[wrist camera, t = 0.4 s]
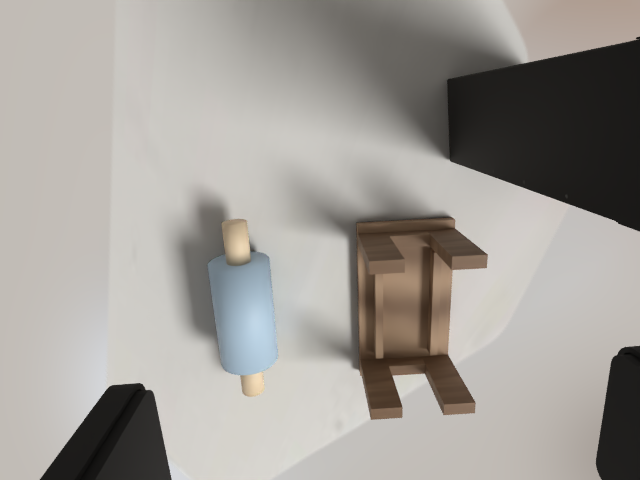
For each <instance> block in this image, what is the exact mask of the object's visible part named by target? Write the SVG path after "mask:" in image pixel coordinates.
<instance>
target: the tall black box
mask: <svg viewBox="0 0 640 480" xmlns="http://www.w3.org/2000/svg"><path fill="white" fill-rule="evenodd" d="M636 39H638V40H634V41H630V42H626V43H621V44H616V45H611V46H606V47H601V48H596V49H591V50H587V51H583V52H577V53H572V54H567V55H563V56H558V57H553V58H548V59H543V60H538V61H534V62H529V63H524V64H519V65H514V66H510V67H505V68H500V69H495V70H490V71H485V72H481V73H476V74H471V75H466V76H461V77H457V78H452V79H448V80H447V85H448V117H449V147H450V161H451V162H454V163H457V164H459V165H462V166H465V167H468V168H470V169H473V170H476V171H479V172H481V173H484V174H487V175H490V176H493V177H495V178H498V179H501V180H504V181H506V182H509V183H512V184H515V185H518V186H520V187H523V188H526V189H529V190H531V191H534V192H537V193H540V194H542V195H545V196H548V197H551V198H554V199H556V200H559V201H562V202H565V203H567V204H570V205H573V206H576V207H578V208H582V209H584V210H587V211H590V212H592V213H595V214H598V215H601V216H603V217H606V218H609V219H612V220H614V221H616V222H618V224H621V225H624V226H627V227H629V228H632V229H635V230H637V231H640V37H637V38H636Z"/></svg>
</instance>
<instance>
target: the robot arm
mask: <svg viewBox="0 0 640 480" xmlns="http://www.w3.org/2000/svg"><path fill="white" fill-rule="evenodd" d="M596 466H597V470H598V473H599V475H600V477H601V479H602V480H640V346H634V347H624V348H622V349H621V350H620V351H619V352H618V355H617V356H614V357H613V359H612V362H611V367H610V373H609V380H608V386H607V393H606V399H605V406H604V413H603V419H602V425H601V432H600V438H599V444H598V451H597V458H596ZM40 480H171V475H170V470H169V466H168V460H167V455H166V450H165V445H164V441H163V436H162V431H161V426H160V421H159V416H158V411H157V407H156V402H155V397H154V394H153V392H152V391H151V390H145V387H144V386H143V384H140V383H137V384H123V385H112V386H110V387H109V388H108V389H107V390H106V391H105V392H104V394H103V395H102V396H101V398H100V399H99V401H98V402H97V403H96V405H95V406H94V407H93V409H92V410H91V411H90V413H89V414H88V415H87V417H86V418H85V419H84V421H83V422H82V424H81V425H80V426H79V428H78V429H77V430H76V432H75V433H74V434H73V436H72V437H71V438H70V440H69V441H68V442H67V444H66V445H65V446H64V448H63V449H62V450H61V452H60V453H59V455H58V456H57V457H56V459H55V460H54V461H53V463H52V464H51V465H50V467H49V468H48V469H47V471H46V472H45V473H44V475H43V476H42V478H41V479H40Z"/></svg>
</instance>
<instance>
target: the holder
mask: <svg viewBox="0 0 640 480" xmlns="http://www.w3.org/2000/svg"><path fill="white" fill-rule="evenodd" d="M356 231H357V278H358V325H359V371H360V376H362V379H363V384H364V388H365V393H366V398H367V403H368V407H369V412H370V417H371V420H373V419H387V418H388V419H389V418H402V404H401V401H400V398H399V395H398V392H397V389H396V386H395V383H394V380H393V377H392V375H408V374H424V373H425V375H426V377H427V379H428V381H429V384H430V386H431V388H432V390H433V392H434V395H435V397H436V399H437V401H438V404H439V406H440V408H441V410H442V412H443V415H450V414H451V415H452V414H467V413H475V401H474V399H473V397H472V396H471V394H470V392H469V391H468V389H467V387H466V385H465V384H464V382H463V380H462V379H461V377H460V375H459V373H458V372H457V370H456V368H455V366H454V365H453V363H452V361H451V360H450V358H449V356H448V341H449V323H450V305H451V287H452V270H460V269H478V268H487V257H488V255H487V254H486V253H485V252H484V251H482V250H481V249H480V248H479V247H477V246H476V245H475V244H474V243H472V242H471V241H470V240H469V239H467V238H466V237H465V236H464V235H462V234H461V233H460V232H459V231H457V230H456V229H455V219H453V218H452V217H450V218H432V219H414V220H396V221H378V222H360V223H356Z"/></svg>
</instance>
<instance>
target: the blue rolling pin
mask: <svg viewBox="0 0 640 480" xmlns="http://www.w3.org/2000/svg"><path fill="white" fill-rule="evenodd" d="M221 224H222V232H223V240H224V248H225V254H224V255H221V256H218V257H216V258H214V259H212V260H211V261H210V262H209V263H208V265H207V266H208V273H209V281H210V288H211V295H212V302H213V309H214V316H215V323H216V330H217V337H218V344H219V352H220V359H221V365H222V367H223V369H224V370H225V371H227V372H229V373H231V374H235V375H240V376H241V384H242V392H243V394H244V395H246V396H249V397H253V396H257V395H260V394H261V393H262V392H263V391H264V378H263V371H265V370H266V369H268V368H270V367H271V366H272V365H273V364H274V363H275V362H276V360H277V358H278V349H277V338H276V327H275V316H274V305H273V294H272V283H271V272H270V261H269V257H268V256H267V255H266V254H264V253H260V252H253V251H250V246H249V236H248V227H247V220H244V219H233V220H227V221H224V222H222V223H221Z"/></svg>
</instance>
